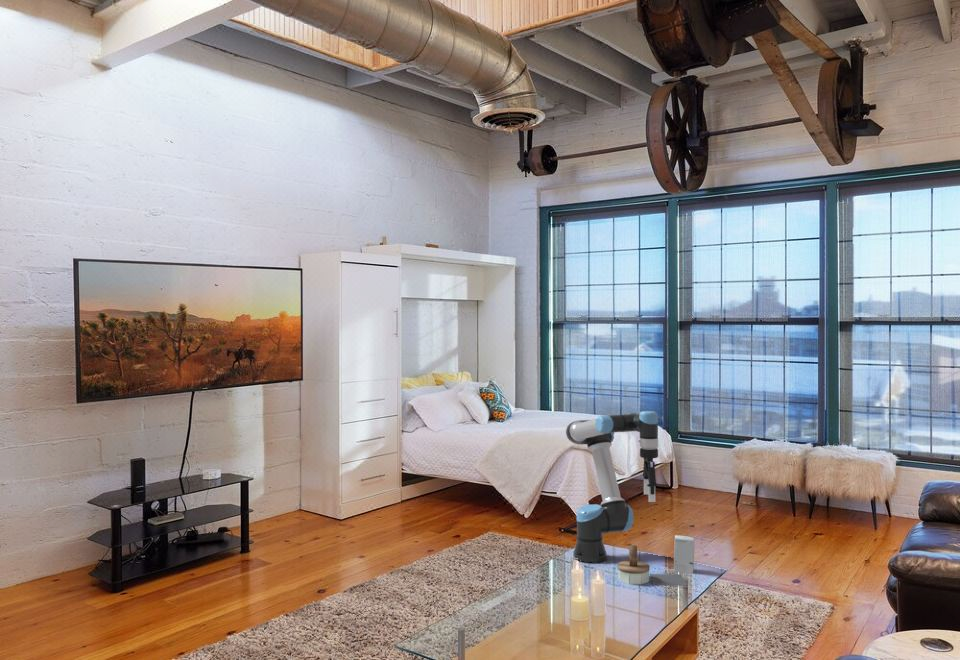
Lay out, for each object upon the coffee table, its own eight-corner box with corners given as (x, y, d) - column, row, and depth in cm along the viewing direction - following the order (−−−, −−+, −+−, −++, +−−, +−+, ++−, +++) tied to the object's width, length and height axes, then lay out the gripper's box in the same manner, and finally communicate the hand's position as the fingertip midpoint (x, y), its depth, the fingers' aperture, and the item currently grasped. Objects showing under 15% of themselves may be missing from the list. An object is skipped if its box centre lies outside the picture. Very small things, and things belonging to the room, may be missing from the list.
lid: (616, 563, 305) (615, 541, 305) (647, 563, 304) (646, 541, 304) (619, 573, 292) (619, 550, 292) (651, 573, 291) (651, 551, 291)
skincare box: (673, 572, 307) (673, 538, 307) (674, 568, 312) (674, 534, 312) (694, 574, 304) (693, 539, 304) (694, 570, 310) (694, 536, 310)
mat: (649, 575, 304) (649, 574, 304) (680, 575, 303) (680, 574, 303) (654, 586, 291) (654, 584, 291) (687, 586, 290) (687, 585, 290)
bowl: (617, 575, 305) (617, 563, 305) (646, 575, 304) (646, 563, 304) (620, 585, 293) (620, 573, 293) (650, 585, 292) (650, 573, 292)
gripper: (636, 443, 317) (636, 491, 317) (644, 453, 292) (644, 505, 292) (653, 443, 317) (653, 491, 317) (662, 453, 292) (663, 505, 292)
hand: (649, 498), depth 304 cm, fingers open, 13 cm apart
